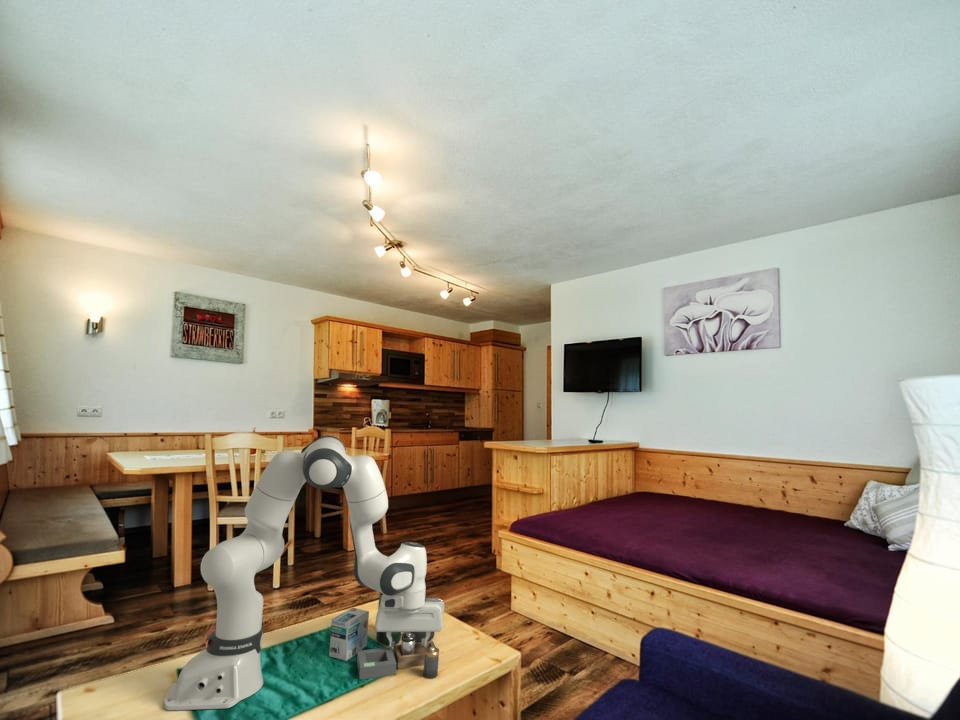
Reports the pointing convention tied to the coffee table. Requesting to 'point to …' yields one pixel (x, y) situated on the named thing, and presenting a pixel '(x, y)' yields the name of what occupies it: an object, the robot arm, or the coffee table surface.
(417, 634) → the smart speaker
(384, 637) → the coffee jar
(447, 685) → the coffee table surface
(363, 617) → the light bulb box
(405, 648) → the steel cell
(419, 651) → the trough
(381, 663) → the cradle
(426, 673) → the copper cell
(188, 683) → the robot arm
